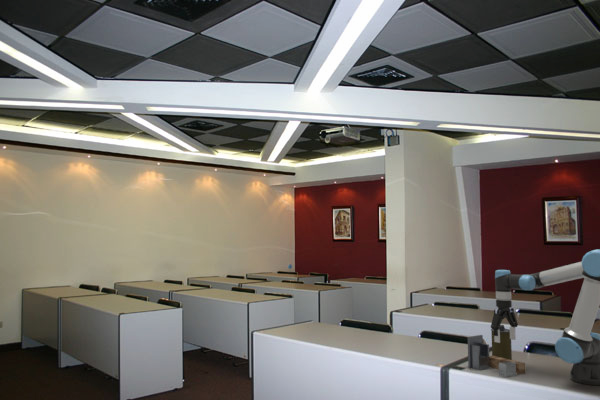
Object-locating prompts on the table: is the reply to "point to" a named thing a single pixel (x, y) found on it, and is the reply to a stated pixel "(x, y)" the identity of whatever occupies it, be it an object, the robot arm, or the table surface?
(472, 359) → the bracket
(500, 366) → the block
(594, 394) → the table surface
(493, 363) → the rail
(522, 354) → the table surface
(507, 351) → the canister
